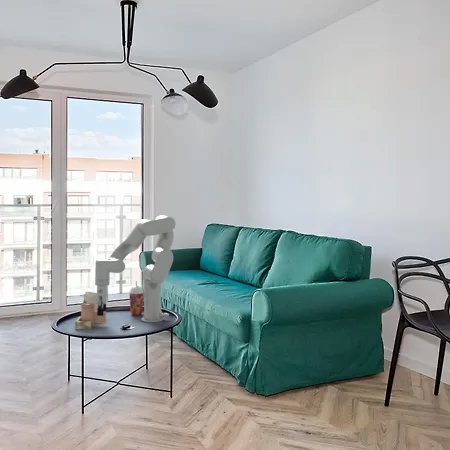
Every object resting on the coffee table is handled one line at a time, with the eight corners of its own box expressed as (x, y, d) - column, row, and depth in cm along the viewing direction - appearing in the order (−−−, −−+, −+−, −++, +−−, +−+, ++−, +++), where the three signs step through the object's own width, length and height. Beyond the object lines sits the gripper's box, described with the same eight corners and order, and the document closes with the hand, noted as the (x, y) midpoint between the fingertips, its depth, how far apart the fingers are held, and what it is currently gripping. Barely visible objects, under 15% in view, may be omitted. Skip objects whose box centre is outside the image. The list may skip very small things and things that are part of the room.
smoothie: (144, 312, 304) (144, 280, 302) (142, 316, 296) (142, 282, 294) (130, 312, 304) (130, 279, 302) (128, 316, 295) (128, 282, 294)
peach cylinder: (106, 323, 279) (106, 302, 278) (104, 327, 272) (104, 305, 271) (82, 324, 278) (82, 302, 277) (79, 328, 270) (79, 306, 270)
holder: (94, 323, 280) (94, 316, 280) (90, 329, 269) (90, 321, 269) (79, 323, 280) (79, 316, 279) (75, 329, 268) (75, 321, 268)
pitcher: (91, 322, 281) (90, 298, 280) (77, 316, 295) (77, 292, 294) (109, 319, 288) (109, 295, 287) (95, 313, 302) (95, 290, 301)
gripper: (107, 285, 265) (106, 317, 266) (111, 279, 282) (110, 309, 283) (92, 284, 264) (91, 317, 265) (97, 279, 282) (97, 309, 283)
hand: (101, 313), depth 274 cm, fingers open, 9 cm apart
